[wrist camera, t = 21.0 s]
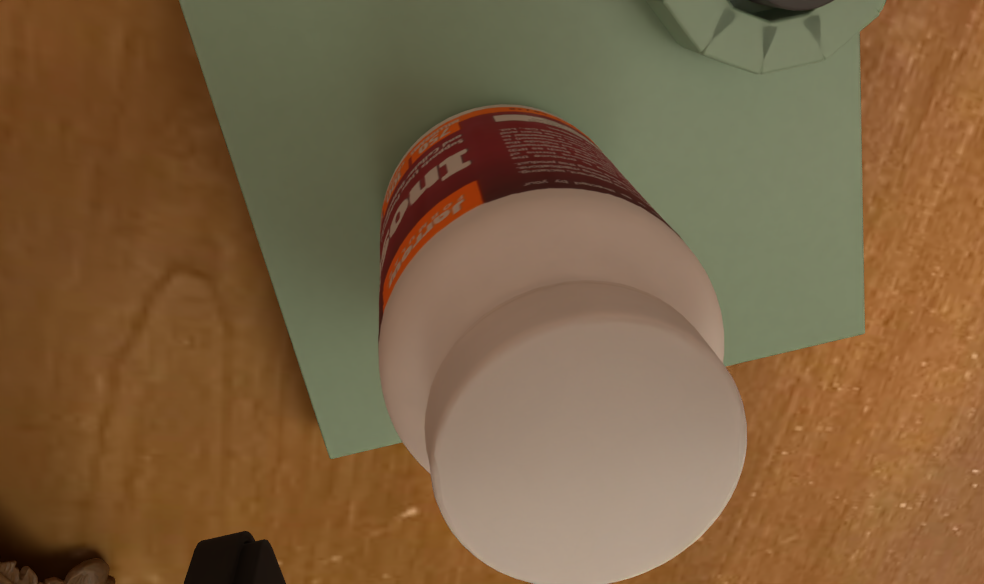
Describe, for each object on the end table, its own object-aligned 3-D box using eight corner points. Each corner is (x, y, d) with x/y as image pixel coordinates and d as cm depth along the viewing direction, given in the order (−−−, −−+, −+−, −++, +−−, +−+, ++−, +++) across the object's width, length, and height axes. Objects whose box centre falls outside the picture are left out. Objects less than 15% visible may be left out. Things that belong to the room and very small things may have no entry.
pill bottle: (408, 71, 21) (434, 210, 10) (645, 131, 22) (872, 305, 12) (356, 304, 23) (337, 603, 13) (575, 345, 24) (715, 647, 14)
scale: (834, -220, 21) (916, -247, 18) (847, 304, 27) (911, 355, 24) (171, -79, 20) (132, -81, 17) (333, 424, 26) (326, 493, 23)
